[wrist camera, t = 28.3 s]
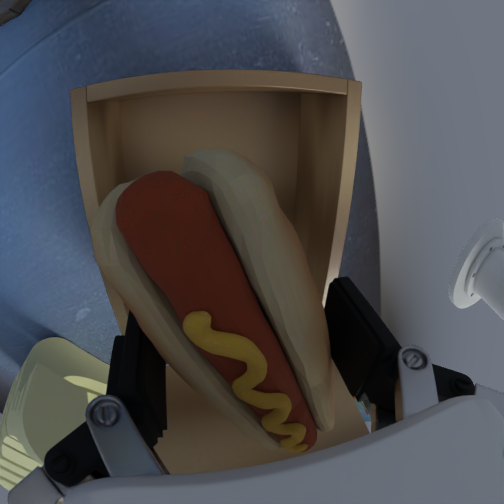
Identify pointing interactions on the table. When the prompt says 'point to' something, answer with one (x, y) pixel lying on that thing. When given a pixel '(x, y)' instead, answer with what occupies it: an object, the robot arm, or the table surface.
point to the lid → (235, 432)
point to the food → (223, 293)
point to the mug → (11, 9)
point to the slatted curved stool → (46, 404)
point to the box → (229, 144)
